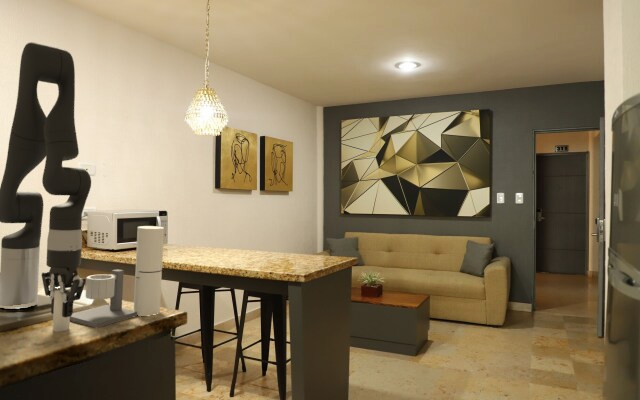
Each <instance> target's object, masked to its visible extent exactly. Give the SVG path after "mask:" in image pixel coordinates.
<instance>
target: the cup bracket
mask: <svg viewBox="0 0 640 400" xmlns="http://www.w3.org/2000/svg"><path fill="white" fill-rule="evenodd" d="M124 272H125V271H124V270H123V269H117V268H116V269H113V270H111V274H93V275H88V276H86V278H85V279H86V282H85V299H88V300H107V299H110V301H109V304H105V305H99V306H96V307H93V308H89V309H85V310H80V311H75V312H73V313H72V315H71V316H70V322H73V323H76V324H81V325H84V326H88V327H91V328H95V329H98V328H101V327H102V328H103V327H105V326H108V325H112V324H114V323H117V322H118V323H119V322H121V321H120V320H122V321H125V320H127V318H128V319H131V318H130V317H132V318H134V317H133V316H135V317H138V316H137V312H136V311H134V310H131V309H126V308H123V291H124V290H123V289H124V274H125V273H124ZM124 319H125V320H124Z"/></svg>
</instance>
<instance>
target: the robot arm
mask: <svg viewBox="0 0 640 400" xmlns="http://www.w3.org/2000/svg"><path fill="white" fill-rule="evenodd" d="M20 57H21V58H20V62H19V63H20V64H19V65H20V67H19V73H18V75H19V76H18V77H19V78H18V86H17V87H18V89H17V96H16V98H17V99H16V105H15V110H14V115H13V119H12V125H11V129H10V134H9V139H8V140H9V141H8V148H7V155H6V162H5V167H4V168H5V169H4V171H3V172H4V173H3V176H2V180H1V184H0V223H1V224H25V225H24V227H22V228H20V230H18V231H16V232H13V233H10V234H8V235H7V234H6V235H4V236H3V237H2V238H1V244H0V245H1V246H0V247H1V248H0V305H2V306H13V305H21V304H28V303H33V302H36V301H37V302H38V295H39V294H38V292H39V274H40V273H39V271H40V252H41V251H40V245H41V237H42V224H43V216H44V215H43V214H44V198H43V195H42V194H41V193H40V192H38V191H35V190H32V191H30V190H18V189H19V187H20V185H21V183H22V182H23V180H24V179H25V178H26V177H27V176H28V175H29V174H30V173H31V172H32V171H33V170H34V169H35V168H37V167H38V166H39V165H40V164H41V163H42V162H43V161H44V160H45V161H44V162H45V163H44V169H43V174H42V179H41V181H42V186H43V188H44V190H45V191H46V192H47V193H48V194H49V195H52V196H69V197H68V198H67V200H66V201H65V202H64V203H61V204H57V205H53V206H52V207H51V208H50V210H49V225H48V227H49V229H48V233H47V234H48V235H47V242H46V243H47V244H46V266H47V267H48V268H49V270H48V271H46V272H41V279H42V280H41V281H42V285H43V289H44V294H45V296H48V297H49V299H50V301H51V305H50V311H51V312H50V313H51V314H52V315H53V313H54V290H57V289H60V293H62V294H63V309H62V316H63V317H69V316H71V315H72V313H74V301H77V300H78V301H79V300H80V299H81V296H82V294H83V291H84V288H85V286H86V278H85V277H82V278H81V277H80V276H79V273H78V267H80V265H81V264H82V251H83V250H82V246H83V237H82V236H83V235H82V223H83V222H82V221H83V220H82V218H83V211H84V209H85V205H86V202H87V199H88V196H89V193H90V190H91V188H92V179H91V175H90V173H89V172H88V170H86V169H85V168H81V167H71V166H70V167H66V166H63V162H66V161H67V162H68V161H70V160H73V159H76V158H77V157H78V156H79V154H80V152H79V145H78V139H77V138H78V137H77V131H76V130H77V129H76V121H75V120H76V119H75V101H76V100H75V99H76V98H75V97H76V94H75V93H76V90H75V89H76V87H75V85H76V79H75V78H76V76H75V74H76V72H75V71H76V70H75V69H76V68H75V63H74V58H73V56H72V53H71V52H69V51H68V50H66V49H63V48H59V47H55V46H51V45H47V44H46V45H45V44H42V43H38V42H27V43H26V44H25V45H24V47H23V50H22V53H21V56H20ZM39 82H42V83H48V84H55V85H57V89H58V95H57V99H56V101H55V103H54V105H53V106H52V108H51V110H50V111H49V113H48V114H47V116H46V114H45V112H44V110H43V108H42V106H41V104H40V100H39V98H38V97H39V96H38V84H39ZM65 288H69V289H65ZM68 292H70V294H69V297H68V294H67V293H68Z"/></svg>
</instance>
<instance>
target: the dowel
mask: <svg viewBox="0 0 640 400" xmlns="http://www.w3.org/2000/svg"><path fill="white" fill-rule="evenodd" d="M65 289H70V287H69V288H65ZM67 294H68V297H69V294H70V292H68V293H67ZM62 309H63V294H62V293H60V289H57V290H54V313H53V314H52V316H53V317H52V318H53V319H52V331H53V332H56V333H59V332H66V331H68V330H70V324H71V323H70V322H71V321H70V316H69V317H63V316H62Z"/></svg>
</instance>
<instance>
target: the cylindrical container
mask: <svg viewBox="0 0 640 400" xmlns="http://www.w3.org/2000/svg"><path fill="white" fill-rule="evenodd" d="M164 232H165V228H164V226H163V227H162V226H156V225H155V226H154V225H143V226H142V225H141V226H140V225H139V226H137V236H136V253H135V254H136V255H135V256H136V257H135V278H134V294H133V295H134V298H133V311H136V312H137V315H138V316H137V317H141V316H147V315H153V314H157V313H159V312H161V296H162V295H161V293H162V291H161V290H162V276H163V275H162V274H163V272H162V271H163V255H164V254H163V253H164V234H165V233H164ZM159 314H160V313H159Z"/></svg>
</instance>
